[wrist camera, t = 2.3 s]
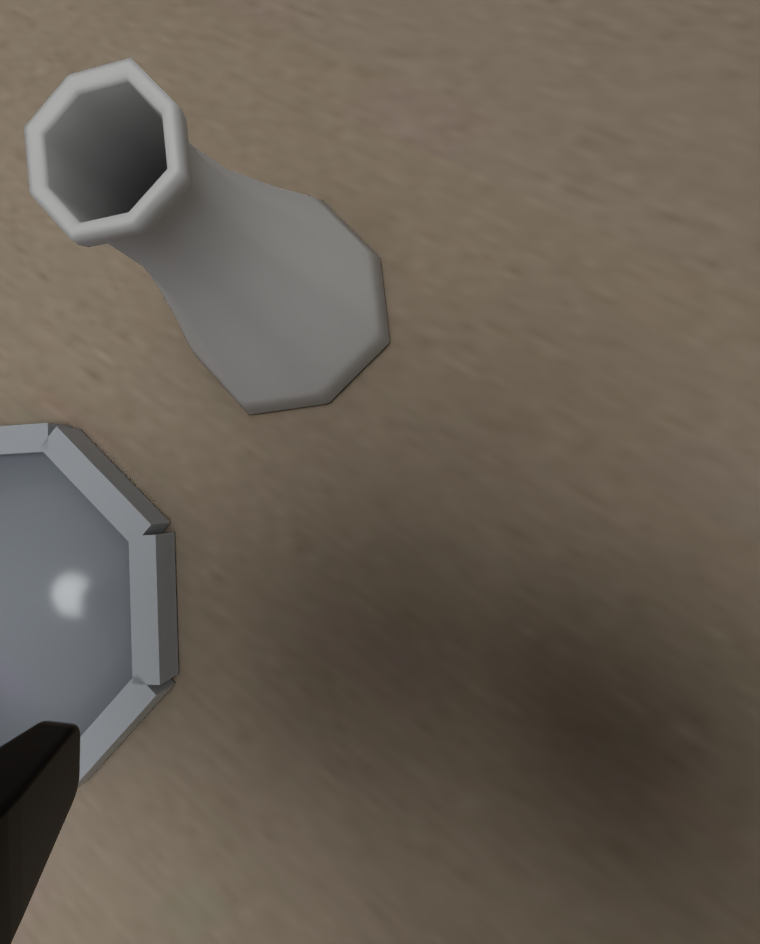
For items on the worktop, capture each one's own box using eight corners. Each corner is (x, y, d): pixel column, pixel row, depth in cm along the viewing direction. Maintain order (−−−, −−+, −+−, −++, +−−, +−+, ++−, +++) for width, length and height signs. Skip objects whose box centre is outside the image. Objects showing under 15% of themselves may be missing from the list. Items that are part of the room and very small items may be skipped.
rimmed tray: (181, 789, 21) (163, 807, 19) (-124, 770, 23) (-157, 786, 22) (171, 419, 21) (152, 415, 20) (-129, 439, 23) (-162, 437, 22)
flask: (161, 270, 21) (-120, 85, 11) (337, 168, 20) (192, -134, 10) (239, 450, 21) (9, 418, 11) (426, 355, 19) (361, 222, 10)
